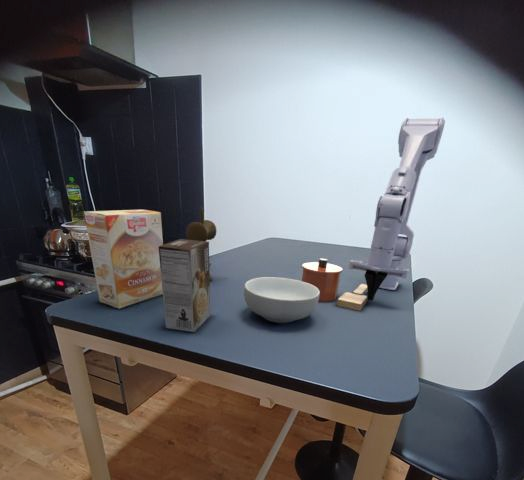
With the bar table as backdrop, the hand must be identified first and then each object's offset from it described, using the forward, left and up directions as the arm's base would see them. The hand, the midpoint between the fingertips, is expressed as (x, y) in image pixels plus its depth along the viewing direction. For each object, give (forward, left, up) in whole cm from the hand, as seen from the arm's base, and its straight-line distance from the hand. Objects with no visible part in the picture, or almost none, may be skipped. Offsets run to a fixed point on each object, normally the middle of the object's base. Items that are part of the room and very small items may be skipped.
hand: (370, 299), depth 86 cm
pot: (+3, -14, -1) cm, 14 cm away
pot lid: (+3, -14, +6) cm, 16 cm away
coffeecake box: (+35, -50, -1) cm, 61 cm away
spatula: (-1, -4, -1) cm, 4 cm away
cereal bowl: (+24, -16, -1) cm, 29 cm away
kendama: (+12, -47, -1) cm, 48 cm away
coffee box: (+39, -30, -1) cm, 49 cm away
